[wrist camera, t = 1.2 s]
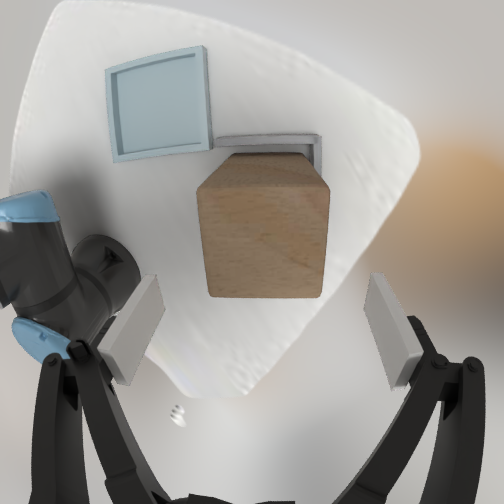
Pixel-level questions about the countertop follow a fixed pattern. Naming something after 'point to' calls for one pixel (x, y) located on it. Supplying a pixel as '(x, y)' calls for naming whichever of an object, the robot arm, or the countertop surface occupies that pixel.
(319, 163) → the bay
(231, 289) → the wooden block
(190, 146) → the tray
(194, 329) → the countertop surface
